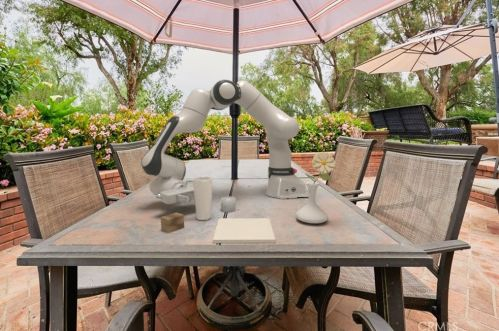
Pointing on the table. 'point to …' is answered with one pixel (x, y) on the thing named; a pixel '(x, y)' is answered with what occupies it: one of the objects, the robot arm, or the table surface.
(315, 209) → the flower in vase
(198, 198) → the drinking glass
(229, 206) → the grey plastic tub
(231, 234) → the cream tile
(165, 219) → the walnut block
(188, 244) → the table surface
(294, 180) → the robot arm
